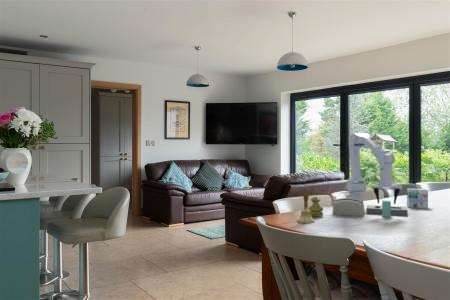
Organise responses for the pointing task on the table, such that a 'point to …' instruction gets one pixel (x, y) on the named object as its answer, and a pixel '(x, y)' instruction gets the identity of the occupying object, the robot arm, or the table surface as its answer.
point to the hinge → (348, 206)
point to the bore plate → (394, 210)
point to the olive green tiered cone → (316, 208)
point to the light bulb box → (417, 198)
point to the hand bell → (305, 210)
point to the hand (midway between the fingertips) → (386, 203)
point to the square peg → (386, 208)
